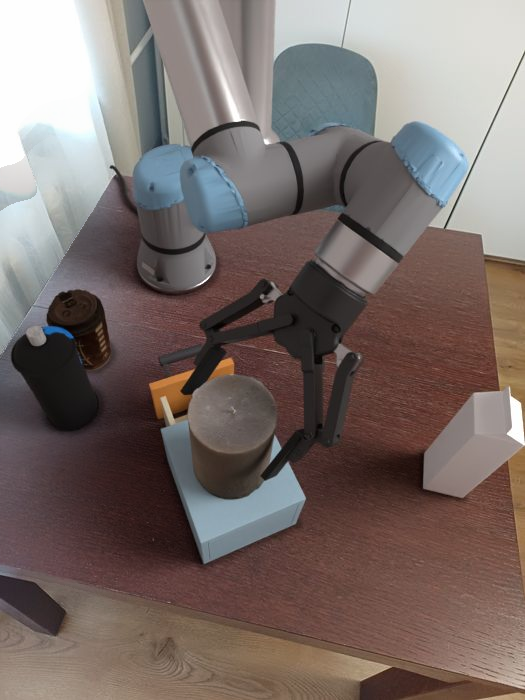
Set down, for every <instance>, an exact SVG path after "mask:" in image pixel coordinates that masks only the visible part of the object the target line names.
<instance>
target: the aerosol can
mask: <svg viewBox="0 0 525 700" xmlns="http://www.w3.org/2000/svg"><path fill="white" fill-rule="evenodd" d="M10 361H11V364H12V366H13V368H14V370H16V371H17V372H18V373H20V375H21V376H22V378H23V379H24V381H25V383H26V385H27V386H28V388H29V389H30V391H31V393H32V394H33V396H34V397H35V399H36V401H37V402H38V404H39V405H40V407H41V409H42V410H43V412H44V414H45V418H46V420H47V422H48V423H49V425H51V427H53V428H54V429H56V430H60V431H63V432H64V431H65V432H73V431H76V430H80V429H83V428H84V427H86V426H88V425H89V424H90V423H92V422H93V420H94V419H95V418H96V417H97V415H98V412H99V409H100V398H99V395H98V394H97V393H96V391H95V390H94V388H93V386H92V383H91V380H90V378H89V376H88V374H87V371H86V370H85V369H84V366H83V364H82V362H81V359H80V357H79V354H78V352H77V350H76V342H75V339H74V337H73V336H72V335H71V334H70V333H69V332H68V331H66V330H64V329H63V328H59V327H54V326H48V325H46V326H40V325H37V324H34V325H31V326H29V327H28V328H27V329H26V330H25V333H24V334H22V335H21V336H20V337H19V338H18V339H17V340H16V342H15V343H14V344H13V346H12V348H11V351H10Z"/></svg>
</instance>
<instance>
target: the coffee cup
mask: <svg viewBox="0 0 525 700" xmlns="http://www.w3.org/2000/svg"><path fill="white" fill-rule="evenodd" d="M45 319H46V324H47V326H54V327H59V328H63V329H64V330H66V331H68V332H69V333H70V334H71V335H72V336H73V337H74V339H75V342H76V350H77V352H78V354H79V357H80V359H81V362H82V364H83V366H84V369H85V371H86V372H95V371H97V370H99V369H101V368H102V367H104V366H105V365H106V364H107V363H108V361H109V360H110V358H111V355H112V349H111V341H110V332H109V328H108V323H107V319H106V312H105V308H104V305H103V303H102V301H101V299H100V298H99V297H98V296H97V295H95V294H94V293H91V292H90V291H88V290H86V289H80V288H79V289H78V288H76V289H74V290H73V289H68V290H67V291H60V292H59V293H58V294H57V295H55V296H54V298H53V300H52V302H51V304H49V306H48V310H47V312H46V318H45Z"/></svg>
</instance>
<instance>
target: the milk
mask: <svg viewBox="0 0 525 700" xmlns="http://www.w3.org/2000/svg"><path fill="white" fill-rule="evenodd" d="M524 447H525V433H524V422H523V412H522V403H521V402H520V401H518V400H517V399H516V398H514V397H513V396H511V386H510V385H507V386H506V387H505V388H504V389H503V390H496V391H495V390H494V391H479V392H478V391H477V392H473V393H472V394H471V395H470V397H469V398H468V399H467V400H466V401H465V402H464V404H463V405H462V407H461V408H459V410H458V411H457V412H456V414H455V415H454V416H453V417H452V419H450V421H449V422H448V423H447V425H446V426H445V427H444V429H442V430H441V432H440V433H439V435H437V437H436V438H435V439H434V441H433V442H432V443H430V446H428V448H427V449H426V450H425V452H424V453H423V475H422V477H423V478H422V483H423V484H422V489H423V490H426V491H431V492H435V493H439V494H443V495H448V496H451V497H456V498H460V499H463V498H464V497H466V496H467V495H469V493H470V492H471V491H473V490H474V489H475V488H477V486H479V485H480V484H481V483H482V482H483V481H484V480H486V479H487V478H488V477H489V476H491V475H492V474H493V473H494V472H495V471H496V470H498V469H499V468H500V467H501V466H502V465H503V464H505V463H506V462H507V461H508V460H509V459H511V458H512V457H513V456H514V455H516V453H518V452H519V451H520V450H522V449H523V448H524Z"/></svg>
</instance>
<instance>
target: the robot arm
mask: <svg viewBox="0 0 525 700" xmlns="http://www.w3.org/2000/svg"><path fill="white" fill-rule="evenodd" d="M142 2H143V5H144V8H145V11H146V14H147V17H148V21H149V24H150V26H151V27H150V28H151V30H152V33H153V36H154V39H155V41H156V45H157V48H158V51H159V54H160V57H161V61H162V64H163V67H164V70H165V73H166V76H167V79H168V82H169V85H170V89H171V91H172V94H173V95H172V96H173V98H174V101H175V105H176V108H177V110H178V113H179V116H180V120H181V122H182V125H183V129H184V131H185V135H186V138H187V141H188V145H187V144H184V145H182V146H181V144H180V143H168V144H164V145H160V146H157V147H155V148H152V149H150V150H148V151H147V152H145V153H144V154H143V155H142V156H141V157H139V160H138V161H137V162H136V163H135V165H134V167H133V170H132V177H131V179H132V196H133V199H134V202H135V204H134V203H133V202H132V201H131V199H130V197H129V195H128V189H127V184H126V181H125V179H124V177H123V175H122V173H121V172H120V170H119V169H118V168H117V167H116V166H115V165H113V164H110V166H109V169H110V170H113V171H114V172H115V174H116V175H117V177H118V179H119V180H120V182H121V185H122V193H123V197H124V198H125V201H126V203H127V204H128V205H129V207H130V208H131V209H132V210H134V211H135V212H136V213H137V217H138V222H139V228H140V234H141V239H140V244H139V248H138V251H137V252H138V253H137V256H136V268H137V273H138V275H139V278H140V279H141V281H142V282H143V283H144V284H145V285H146V286H147V287H148V288H150V289H152V290H154V291H156V292H158V293H161V294H165V295H170V296H171V295H172V296H177V295H178V296H181V295H187V294H191V293H194V292H197V291H199V290H200V289H203V288H204V287H205V286H206V285H208V284H209V283H210V282H211V281H212V279H213V278H214V276H215V274H216V271H217V256H216V253H215V249H214V248H213V245H212V243H211V241H210V239H209V237H208V235H207V234H213V233H214V234H215V233H221V232H226V231H227V232H228V231H233V230H241V229H245V228H247V227H250V226H253V225H257V224H262V223H265V222H269V221H273V220H277V219H280V218H285V217H291V216H297V215H301V214H304V213H310V212H314V211H318V210H322V209H327V208H330V207H335V206H342V207H343V208H344V209H343V211H342V212H341V213H340V214H339V215H338V217H337V218H336V221H335V222H334V223H333V224H332V225H331V228H330V229H329V230H328V232H326V234H325V235H324V237H323V238H322V239H321V241H320V243H319V244H317V246H316V248H315V249H314V251H313V252H314V256H315V257H316V258H315V260H314V259H310V260H307V261H306V262H305V264H304V265H303V267H302V268H301V269H300V271H299V272H298V274H296V277H294V279H293V280H292V282H291V284H290V286H289V288H288V290H286V292H284V293H282V292H281V290H280V289H279V284H278V283H277V282H275V281H272V280H270V279H266V278H262V279H260V280H259V281H257V283H256V285H254V286H253V288H252V289H251V290H250V291H249V292H248V293H246V294H245V295H243V296H241V297H239V298H238V299H235V300H234V301H232V302H231V303H229V304H227V305H226V306H224V307H222V308H220V309H219V310H217V311H215V312H213V313H212V314H211V315H209V316H207V317H206V318H204V319H202V320H201V321H200V322H199V324H198V325H199V329H200V330H202V331H203V333H204V334H205V338H206V340H205V342H204V344H203V347H202V349H201V350H200V352H199V353H198V355H197V356H195V358H194V359H193V365H194V366H195V368H194V369H195V370H194V369H193V370H194V371H193V373H192V374H191V376H190V377H189V379H188V380H187V382H186V383H185V385H184V386H183V388H182V389H181V391H180V392H181V393H182V394H183V395H192V394H193V392H194V391H195V390H196V389H197V388H200V387H201V386H202V385H203V384H204V383H205V382H207V380H208V379H209V377H210V376H211V374H212V373H213V372H214V370H215V369H216V367H217V366H218V364H219V363H220V362H221V361H222V360H224V357H225V356H226V354H227V353H228V351H227V350H226V349H225V348H224V347H225V346H228V345H230V344H235V343H239V342H243V341H247V340H248V341H249V340H252V339H256V338H260V337H264V336H270V335H273V338H274V339H273V341H274V342H275V343H276V344H277V345H279V346H281V347H282V348H284V349H285V350H286V352H287V353H288V354H289V355H290V356H291V357H292V359H294V360H299V361H300V369H301V370H300V371H301V372H302V374H303V375H302V379H303V380H302V381H303V387H302V388H303V428H300V429H297V430H295V431H294V432H293V433H292V435H291V436H290V437H289V438H288V440H287V441H286V443H284V445H283V446H282V447H281V448H282V449H281V450H280V451H279V453H278V454H277V455H276V456H275V458H274V459H273V460H272V461H271V463H270V464H269V465H268V467H267V468H266V469H265V470H264V472H263V473H262V474H261V475H260V476H261V477H262V478H263V479H264V481H266V480H268V479H271V478H273V477H275V476H277V475H278V473H279V472H280V471H281V470H282V468H283V467H284V466H285V465H286V463H287V462H288V463H289V461H290V463H292V464H295V463H296V462H299V461H301V460H303V459H304V458H305V456H306V455H307V454H308V452H310V450H311V449H313V446H314V445H315V444H316V443H317V444H319V445H321V446H322V447H323V448H325V449H329V448H331V447H334V446H336V445H338V444H340V443H341V438H342V434H343V430H344V426H345V420H346V417H347V411H348V407H349V402H350V399H351V393H352V389H353V383H354V379H355V375H356V374H357V372H358V371H359V369H360V367H361V366H362V364H363V363H364V361H365V356H364V355H363V353H362V352H356V351H354V350H352V349H351V348H349V347H347V346H346V345H345V344H343V339H344V337H345V334H347V332H348V331H349V330H350V328H351V327H352V326H353V324H354V323H355V322H356V320H357V319H358V318H359V316H360V315H361V314H362V313H363V311H364V310H365V309H366V308H367V306H368V299H367V296H368V295H369V296H375V295H376V294H377V293H378V292H379V290H380V289H381V288H382V286H383V285H385V282H386V281H388V279H389V277H390V276H391V275H392V274H393V272H394V271H395V270H396V269H397V267H398V266H399V264H400V263H401V262H402V261H403V258H404V257H405V256H406V254H407V253H408V252H409V251H410V250H411V248H412V247H413V246H414V244H415V243H416V242H417V241H418V240H419V238H420V237H421V236H422V234H423V233H424V232H425V230H426V229H427V228H428V227H429V226H430V225H431V223H433V221H434V219H436V217H437V216H438V214H440V212H441V211H442V209H443V208H445V207H446V206H447V205H448V202H449V200H450V199H451V197H452V196H453V194H454V193H455V192H456V190H457V188H458V187H459V185H460V184H461V182H462V181H463V180H464V178H465V177H466V175H467V173H468V170H469V161H468V157H467V156H466V154H465V152H463V150H462V149H461V147H459V146H458V145H457V143H456V142H455V141H454V140H452V139H451V138H450V137H448V136H447V135H446V134H444V133H443V132H442V131H440V130H438V129H437V128H435V127H433V126H431V125H429V124H427V123H425V122H422V121H416V120H415V121H411V122H407V123H405V124H404V125H403V126H402V127H401V129H400V130H399V131H398V132H397V133H396V134H395V135H393V136H392V139H390V141H385V140H383V139H380V138H378V137H376V136H373V135H372V134H369V133H367V132H364V131H361V129H358V128H357V127H355V126H350V125H349V124H347V123H345V124H344V123H337V122H325V123H320V124H319V125H316V127H314V128H312V129H311V130H310V131H309V132H308V133H306V135H305V136H304V137H301V138H295V139H290V140H285V141H282V140H280V136H279V135H278V134H277V133H276V132H275V131H274V130H273V129H272V119H273V118H272V117H273V87H274V66H275V65H274V64H275V63H274V59H275V37H276V36H275V35H276V34H275V32H276V7H277V6H276V5H277V0H142ZM272 303H274V304H273V317H269V318H266V319H262V320H258V321H257V322H253V323H250V324H245V325H242V326H237V327H233V328H230V329H226V330H222V329H224V328H226V327H227V326H230V325H231V324H232V323H234V322H236V321H237V320H239V319H242V318H243V317H245V316H247V315H248V314H250V313H252V312H253V311H255V310H257V309H259V308H261V307H262V306H265V304H267V305H269V304H272ZM222 346H224V347H222ZM331 354H335V355H336V359H335V366H336V367H337V369H336V372H335V375H334V378H333V383H332V387H331V392H330V397H329V402H328V407H327V411H326V416H325V418H324V415H325V414H324V413H325V412H324V371H325V356H328V355H331ZM324 419H325V420H324Z"/></svg>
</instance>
